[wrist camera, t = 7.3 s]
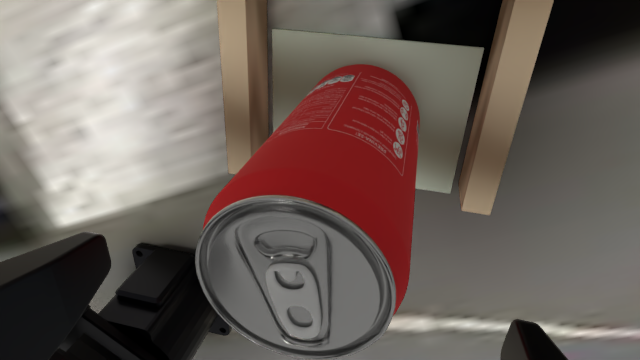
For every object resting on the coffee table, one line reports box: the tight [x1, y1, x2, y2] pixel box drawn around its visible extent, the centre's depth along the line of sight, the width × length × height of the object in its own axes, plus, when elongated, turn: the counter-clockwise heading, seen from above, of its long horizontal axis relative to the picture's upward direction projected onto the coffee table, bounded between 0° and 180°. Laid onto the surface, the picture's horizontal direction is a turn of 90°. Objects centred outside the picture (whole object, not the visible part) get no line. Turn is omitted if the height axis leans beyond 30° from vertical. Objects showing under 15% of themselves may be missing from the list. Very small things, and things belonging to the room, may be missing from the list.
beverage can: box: [195, 64, 420, 360], centre depth 14 cm, size 5×5×12 cm
